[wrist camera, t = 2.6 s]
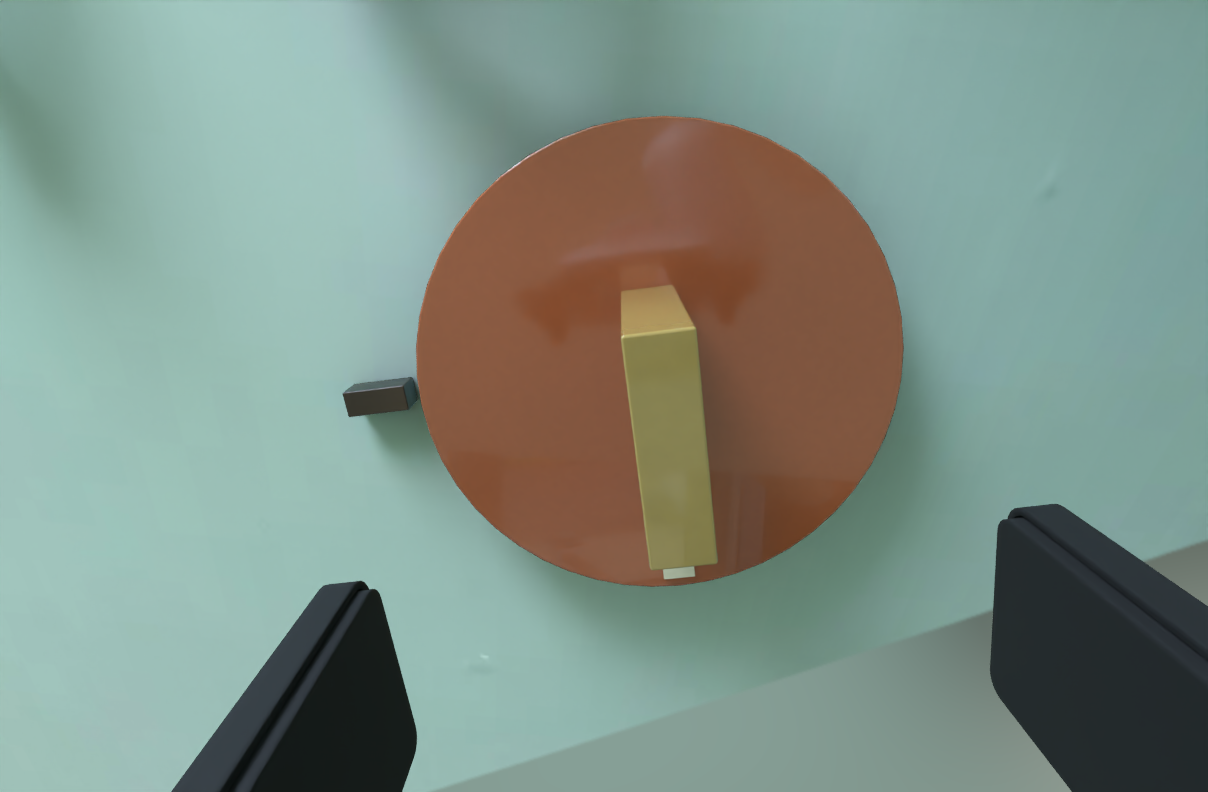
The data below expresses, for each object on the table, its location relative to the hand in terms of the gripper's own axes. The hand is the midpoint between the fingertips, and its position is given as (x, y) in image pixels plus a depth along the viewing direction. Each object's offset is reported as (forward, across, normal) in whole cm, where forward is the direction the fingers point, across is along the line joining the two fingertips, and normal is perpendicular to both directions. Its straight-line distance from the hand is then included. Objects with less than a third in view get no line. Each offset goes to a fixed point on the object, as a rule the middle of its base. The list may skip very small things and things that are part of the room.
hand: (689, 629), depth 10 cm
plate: (+14, 0, 0) cm, 14 cm away
